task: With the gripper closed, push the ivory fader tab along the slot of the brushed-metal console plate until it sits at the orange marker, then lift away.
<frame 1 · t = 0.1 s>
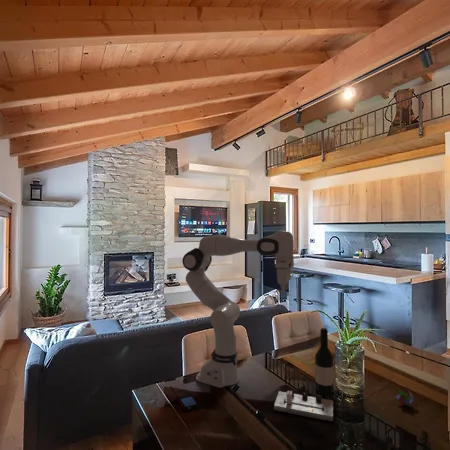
hand: (284, 291, 152), 48 cm above the table, fingers open, 8 cm apart
fader: (289, 401, 135), point 2 cm above the table, slide at 0.0 cm
geometric puzzle: (404, 406, 136), on the table
console: (303, 407, 134), on the table
wine bottle: (324, 390, 150), on the table
handheld game console: (184, 405, 136), on the table
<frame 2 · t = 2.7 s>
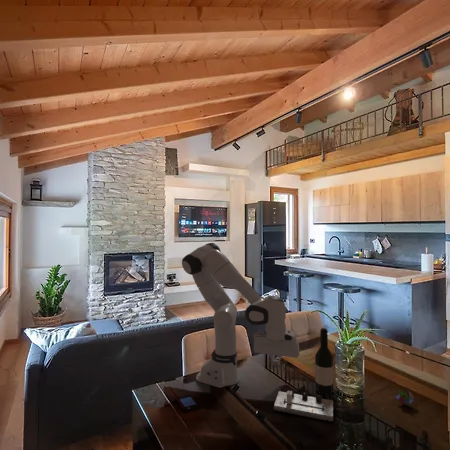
hand: (276, 364, 137), 18 cm above the table, fingers closed
nothing on the table moved.
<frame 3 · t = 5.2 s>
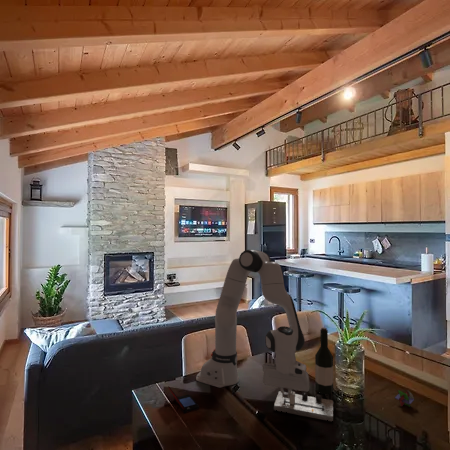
hand: (285, 397, 135), 4 cm above the table, fingers closed
fader: (292, 402, 134), point 2 cm above the table, slide at 1.2 cm, touching gripper
everything else where it was.
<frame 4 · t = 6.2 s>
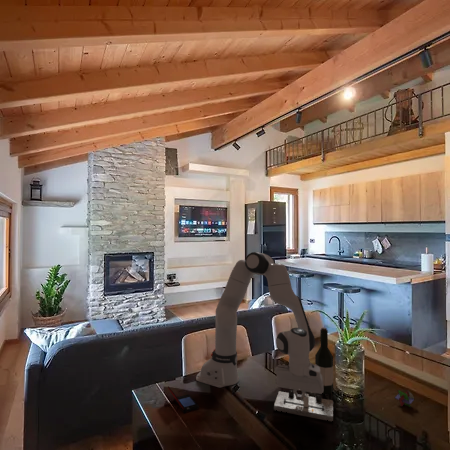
hand: (299, 399, 133), 4 cm above the table, fingers closed
fader: (306, 405, 132), point 2 cm above the table, slide at 7.1 cm, touching gripper
everything else where it was.
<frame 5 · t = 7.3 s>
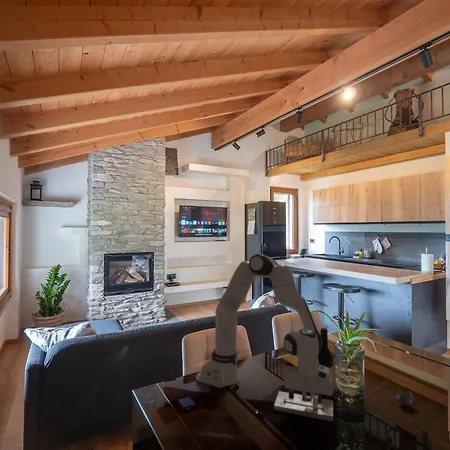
hand: (308, 401, 132), 4 cm above the table, fingers closed
fader: (315, 406, 131), point 2 cm above the table, slide at 10.8 cm, touching gripper
everything else where it was.
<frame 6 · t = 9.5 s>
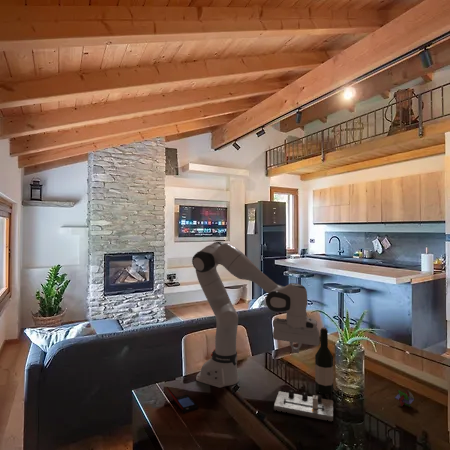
hand: (295, 352, 136), 24 cm above the table, fingers closed
fader: (315, 406, 131), point 2 cm above the table, slide at 10.9 cm
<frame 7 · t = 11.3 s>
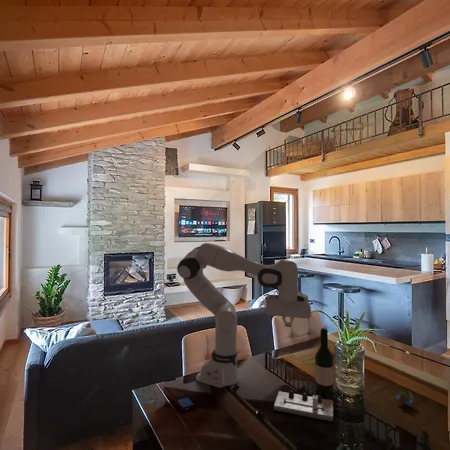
hand: (288, 326, 139), 34 cm above the table, fingers closed
at the end: fader slide at 10.9 cm; the gripper is holding nothing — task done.
